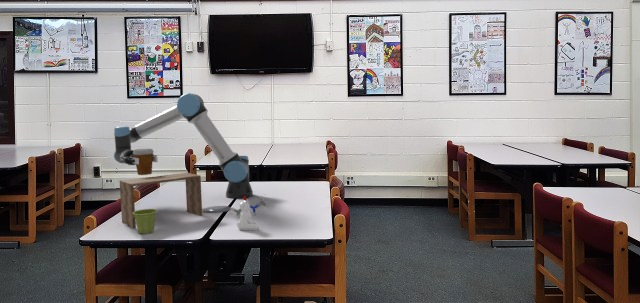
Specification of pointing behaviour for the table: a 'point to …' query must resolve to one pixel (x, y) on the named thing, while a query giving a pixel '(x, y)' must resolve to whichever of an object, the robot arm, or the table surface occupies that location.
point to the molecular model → (251, 207)
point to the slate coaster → (216, 209)
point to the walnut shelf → (191, 182)
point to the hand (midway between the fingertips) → (147, 160)
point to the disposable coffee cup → (144, 161)
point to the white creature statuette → (246, 218)
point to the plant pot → (145, 220)
